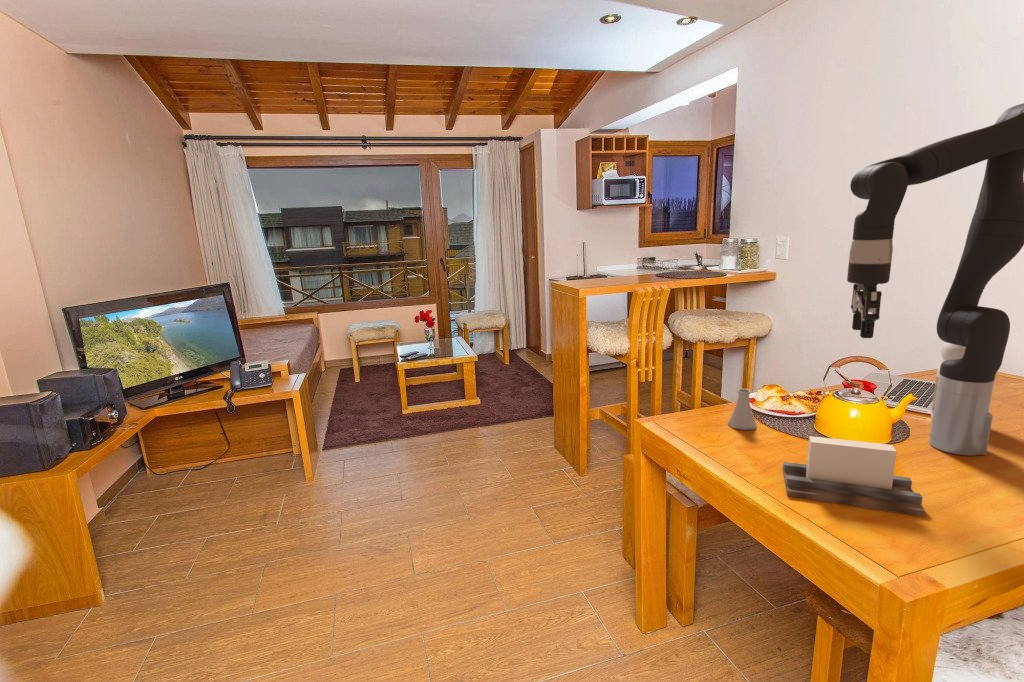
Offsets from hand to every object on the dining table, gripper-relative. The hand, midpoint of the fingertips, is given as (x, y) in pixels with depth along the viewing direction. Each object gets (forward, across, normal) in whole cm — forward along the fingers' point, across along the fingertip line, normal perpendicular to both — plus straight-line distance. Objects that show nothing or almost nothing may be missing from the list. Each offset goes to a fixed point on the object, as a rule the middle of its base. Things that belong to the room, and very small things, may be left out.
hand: (861, 333), depth 110 cm
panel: (+27, -21, +4) cm, 34 cm away
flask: (+28, +8, +23) cm, 37 cm away
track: (+28, -21, +4) cm, 35 cm away
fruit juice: (+28, +25, -27) cm, 46 cm away
